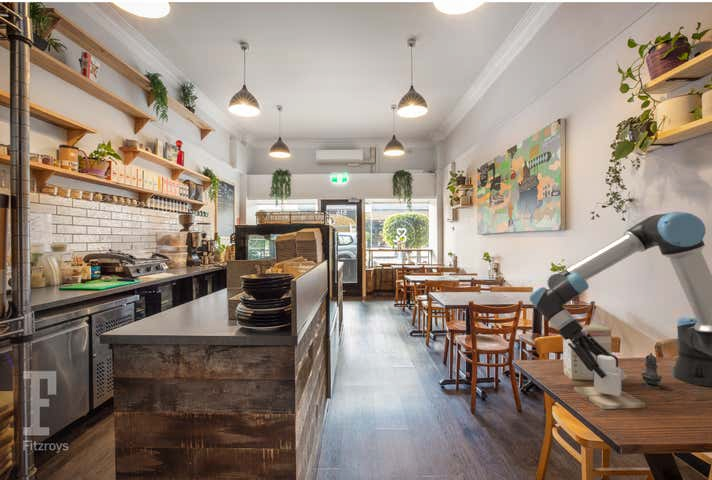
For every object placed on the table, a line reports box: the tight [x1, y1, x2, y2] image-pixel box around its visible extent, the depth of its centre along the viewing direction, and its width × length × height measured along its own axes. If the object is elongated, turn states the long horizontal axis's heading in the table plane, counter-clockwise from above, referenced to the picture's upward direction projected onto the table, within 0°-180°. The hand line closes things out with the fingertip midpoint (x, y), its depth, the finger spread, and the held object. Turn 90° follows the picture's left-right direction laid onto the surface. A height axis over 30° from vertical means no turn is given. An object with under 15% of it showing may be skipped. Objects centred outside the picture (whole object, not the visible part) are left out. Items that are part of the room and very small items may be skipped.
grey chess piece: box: [641, 352, 663, 390], centre depth 130 cm, size 6×6×12 cm
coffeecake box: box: [562, 324, 613, 381], centre depth 140 cm, size 15×7×20 cm, turn 84°
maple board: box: [573, 386, 647, 410], centre depth 121 cm, size 14×14×1 cm
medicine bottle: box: [593, 353, 622, 396], centre depth 121 cm, size 7×7×12 cm
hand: (619, 382), depth 118 cm, fingers closed on medicine bottle, 8 cm apart
